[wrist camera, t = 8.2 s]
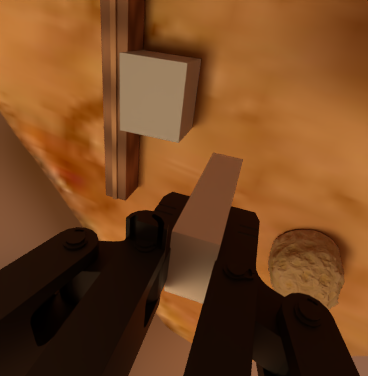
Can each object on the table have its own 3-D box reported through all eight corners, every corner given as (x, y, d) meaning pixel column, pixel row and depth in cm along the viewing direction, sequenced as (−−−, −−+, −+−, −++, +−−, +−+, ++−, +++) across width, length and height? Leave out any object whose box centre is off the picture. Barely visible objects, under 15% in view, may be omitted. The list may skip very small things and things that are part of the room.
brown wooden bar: (119, -82, 27) (95, -100, 23) (148, -80, 26) (127, -99, 23) (119, 182, 42) (105, 196, 38) (137, 187, 42) (124, 201, 38)
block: (143, 49, 32) (119, 52, 27) (201, 58, 31) (187, 63, 26) (141, 117, 36) (120, 130, 31) (192, 127, 35) (178, 142, 30)
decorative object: (272, 217, 42) (238, 271, 38) (337, 218, 33) (302, 288, 29) (303, 256, 44) (275, 310, 40) (370, 266, 36) (343, 336, 32)
